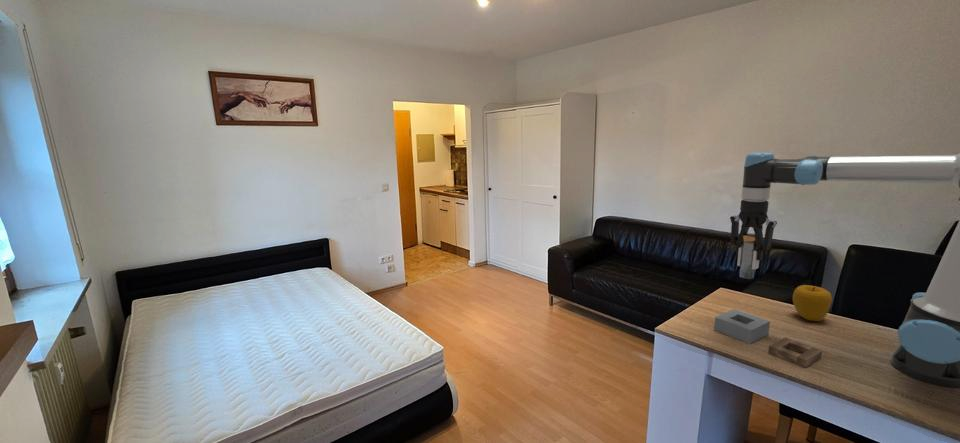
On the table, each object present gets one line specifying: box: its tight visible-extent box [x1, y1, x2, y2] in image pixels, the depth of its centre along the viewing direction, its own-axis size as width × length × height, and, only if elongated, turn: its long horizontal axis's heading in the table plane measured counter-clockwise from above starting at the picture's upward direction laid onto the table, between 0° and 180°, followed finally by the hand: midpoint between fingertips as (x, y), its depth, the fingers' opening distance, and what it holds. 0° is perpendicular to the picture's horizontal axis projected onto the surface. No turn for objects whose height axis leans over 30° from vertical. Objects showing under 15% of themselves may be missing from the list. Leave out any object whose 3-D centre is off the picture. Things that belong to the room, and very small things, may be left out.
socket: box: [713, 308, 771, 345], centre depth 137 cm, size 12×12×5 cm
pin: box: [739, 232, 756, 280], centre depth 132 cm, size 5×5×15 cm
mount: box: [767, 337, 823, 369], centre depth 122 cm, size 10×10×2 cm
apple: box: [792, 284, 833, 322], centre depth 144 cm, size 11×11×13 cm
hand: (747, 266), depth 133 cm, fingers closed on pin, 4 cm apart
